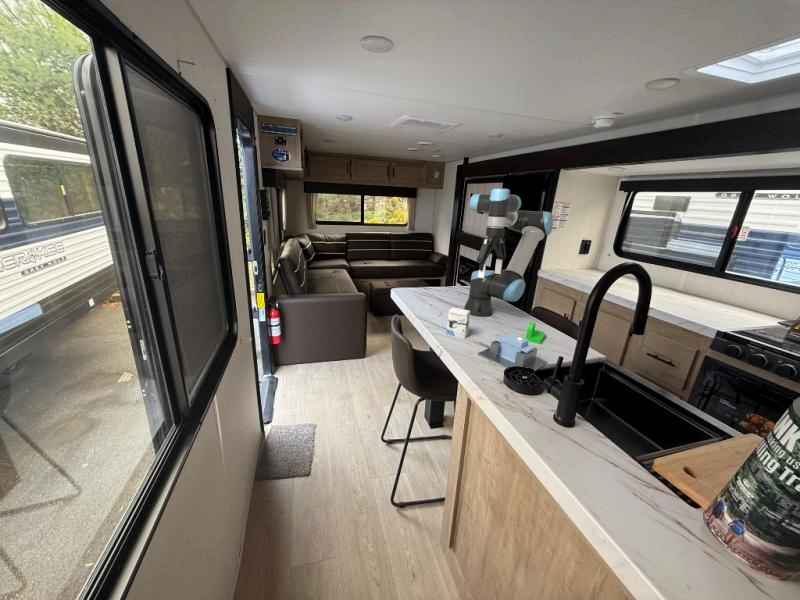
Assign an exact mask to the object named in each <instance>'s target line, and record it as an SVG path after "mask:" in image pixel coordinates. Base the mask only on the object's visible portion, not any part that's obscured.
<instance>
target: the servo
mask: <svg viewBox="0 0 800 600" xmlns="http://www.w3.org/2000/svg"><path fill="white" fill-rule="evenodd" d="M495 341H498V342H501V346H500V349H499V351H500V353H499V355H500V356H503V357H505V358H507V359H510V360H512V361H514V362H515V358H516V353H517V352H521V353H524V352H526V353H528V352H530V351H532V350H534V348H535V347H533V346H531V345H529V342H530V341H529V340H527V339H526V338H524V337H521V336H518V335H516V334H513V333H510V332H508V333H506V334H503V335H500V336H499V337H496V338H495Z"/></svg>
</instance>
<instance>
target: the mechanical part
mask: <svg viewBox="0 0 800 600" xmlns="http://www.w3.org/2000/svg"><path fill="white" fill-rule="evenodd" d="M526 329H527V330H526V334H525V339H527V340H529V341H528V342H531V343H535V344H538V345H540V344H541V343H542V342H543V340H544V339H545V336H546V333H545V332H544V331H541V330H538V329H536V322H532V321H530V322H529V323H528V325H527V328H526Z"/></svg>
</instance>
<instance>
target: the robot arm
mask: <svg viewBox="0 0 800 600" xmlns="http://www.w3.org/2000/svg"><path fill="white" fill-rule="evenodd" d="M510 193H511V191H510V189H508V188H493V189H491V191H490V194H484V193H483V194H482V193H475V194H473V195H472V196H471V197H470V199H469V200H470V201H469V208H470V210H471V211H475V212H482V213H483V214H486V215H487V223H486V226H487V227H486V230H485V236H486V237H487V239H486V238H484V239H483V240H482V245H481V247H480V250H479V252H478V254H477V255H478V256H477V257H476V262H477V263H479V266H478V270H475V271H473V272H472V273H471V278H470V284H469V285H470V286H469V295H468V299H467V300H466V302H465V304H464V308H463V309H464V310H469V311H470V316H473V317H478V318H481V317H482V318H488V317H490V316H493V313H494V309H493V304H492V298H494V299H498V300H503V301H506V302H511V303H514V302H517V301H519V300H520V298H521V297H522V296H523V294H524V292H525V288H526V282H525V278H524V274H525V271H526V269H527V267H528V265H529V263H530V261H531V259H532V256H533V254H534V253H535V251H536V250H535V249H536V248H537V246H538V244H539V242H540V241H542V240H543V239H544V238H545V237H546V236H548V235H550V234H551V233H552V230H553V225H554V224H553V223H554V218H553V214H552V212H549V211H545V210H542V211H538V210H537V211H534V210H533V211H532V210H519V209H521V206H522V200H521V198H520V197H519V195H516V194H510ZM505 228H507V229H509V230H512V231H515V232H517V233H521V235H522V236H521V238H520V240H519V242H518V245H517V246H516V248H515V251H514V252H513V255H512V257H511V259H510V261H509V263H508V265H507V267H506V269H502V267H503V261H505V260H506V258H507V254H506V253H507V252H506V246H505V245H506V244H505V240H506V238H505V237H504V236H505V232H506V231H505V230H506V229H505ZM492 251H495V254H496V257H497V258H496V259H495V260H496V261H495V268H494V270H492V269H491V270H487V268H486V267H487V263H486V262H487V260H488V258H489V256H490V254H491V252H492Z"/></svg>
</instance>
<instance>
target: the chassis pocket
mask: <svg viewBox="0 0 800 600" xmlns="http://www.w3.org/2000/svg"><path fill="white" fill-rule="evenodd" d="M500 346H501V342H498V341H496V340H494V341H491V342H490V347H489V348H486V349H485V350H482V351H479V352H477V355H479V356H480V357H483V358H485V359H487V360H489V361H492V362H494V363H496V364H498V365H500V366H503V367H505V368H507V367H510V366H521V367H528V368H531V369H533V370H534V372H536V371H537V370H539V369H540V368H542V367H543V366H545V365H547V364H548V361H546V360H543V359H541V358H538V357H537V355H538V354H537V353H538V350H539V349H538V348H537V347H534V350H532V351H530V352H528V353H526V352H524V353H521V352H517V353H516V358H515V362H514V361H512V360H510V359H507V358H505V357H503V356H500V355H499V353H500V351H499V349H500Z"/></svg>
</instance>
